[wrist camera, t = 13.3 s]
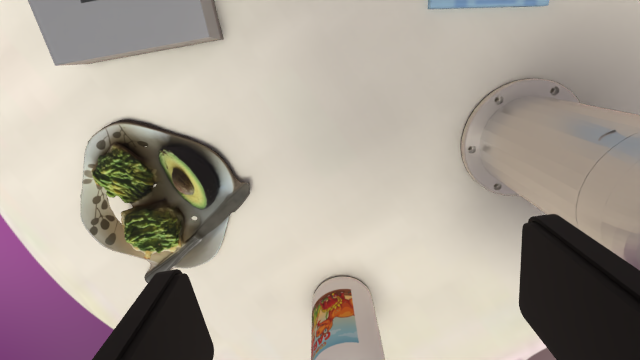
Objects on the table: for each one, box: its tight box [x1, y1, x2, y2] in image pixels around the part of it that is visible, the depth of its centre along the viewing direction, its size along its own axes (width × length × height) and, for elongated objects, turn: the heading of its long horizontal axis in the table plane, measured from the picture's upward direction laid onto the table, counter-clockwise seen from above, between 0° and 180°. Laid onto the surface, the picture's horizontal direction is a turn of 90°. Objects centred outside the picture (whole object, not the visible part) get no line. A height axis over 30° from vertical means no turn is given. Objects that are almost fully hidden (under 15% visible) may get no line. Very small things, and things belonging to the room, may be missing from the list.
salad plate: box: [81, 120, 250, 283], centre depth 38 cm, size 19×18×5 cm
